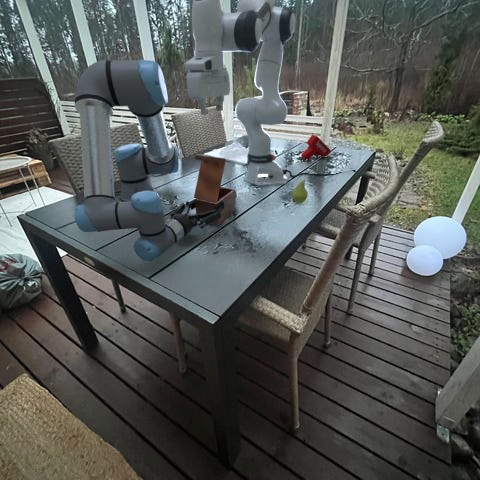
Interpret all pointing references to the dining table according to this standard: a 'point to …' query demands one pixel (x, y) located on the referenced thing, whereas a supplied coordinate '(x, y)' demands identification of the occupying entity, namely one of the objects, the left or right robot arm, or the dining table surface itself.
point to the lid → (209, 177)
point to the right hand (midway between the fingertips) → (212, 112)
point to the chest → (224, 196)
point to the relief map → (231, 153)
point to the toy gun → (315, 148)
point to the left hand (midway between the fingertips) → (211, 202)
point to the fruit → (300, 192)
